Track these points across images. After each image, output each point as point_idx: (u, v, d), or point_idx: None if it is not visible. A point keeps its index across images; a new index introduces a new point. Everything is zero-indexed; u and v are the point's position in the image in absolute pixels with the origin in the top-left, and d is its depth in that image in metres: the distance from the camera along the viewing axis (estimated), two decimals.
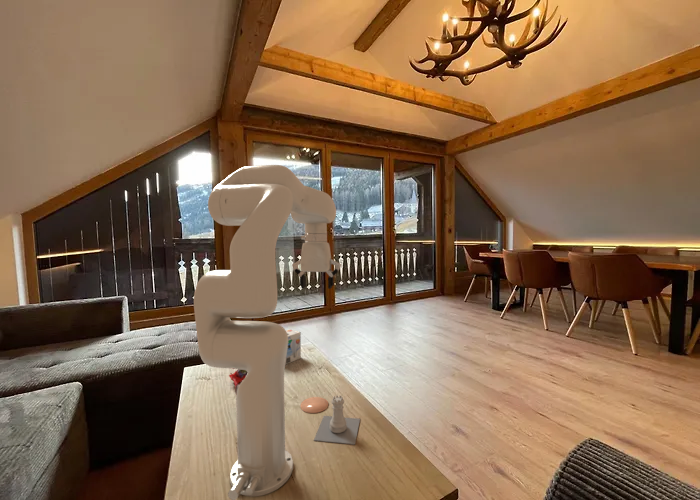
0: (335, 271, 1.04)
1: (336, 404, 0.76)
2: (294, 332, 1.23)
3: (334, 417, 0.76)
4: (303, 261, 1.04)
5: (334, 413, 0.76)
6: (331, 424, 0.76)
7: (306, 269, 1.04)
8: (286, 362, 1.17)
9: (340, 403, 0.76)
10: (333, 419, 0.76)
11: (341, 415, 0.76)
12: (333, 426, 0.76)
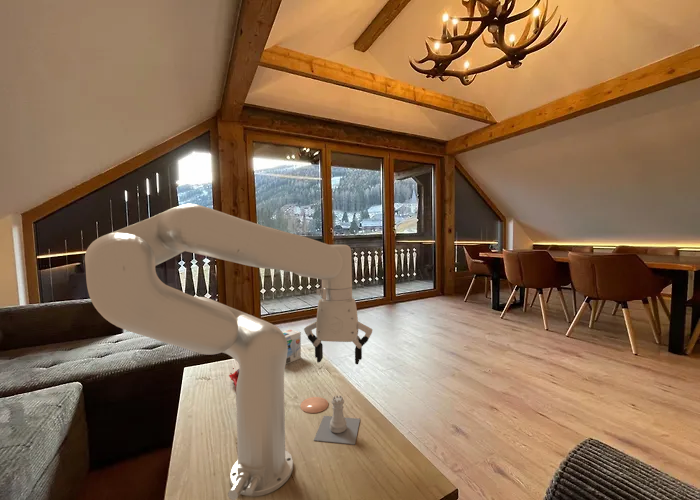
0: (365, 340, 0.75)
1: (336, 404, 0.76)
2: (294, 332, 1.23)
3: (334, 417, 0.76)
4: (320, 327, 0.74)
5: (334, 413, 0.76)
6: (331, 424, 0.76)
7: (324, 338, 0.74)
8: (286, 362, 1.17)
9: (340, 403, 0.76)
10: (333, 419, 0.76)
11: (341, 415, 0.76)
12: (333, 426, 0.76)
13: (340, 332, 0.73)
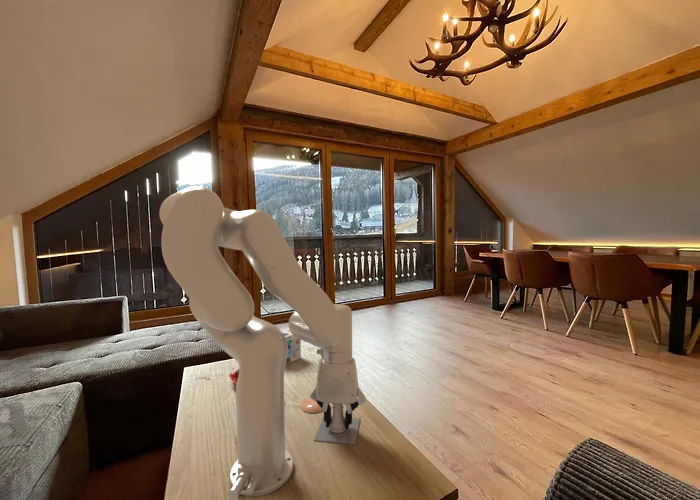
0: (355, 405, 0.76)
1: (336, 404, 0.76)
2: None
3: (334, 417, 0.76)
4: (320, 388, 0.75)
5: (334, 413, 0.76)
6: (331, 424, 0.76)
7: (324, 399, 0.75)
8: (286, 362, 1.17)
9: None
10: (333, 419, 0.76)
11: (341, 415, 0.76)
12: (333, 426, 0.76)
13: (340, 394, 0.74)
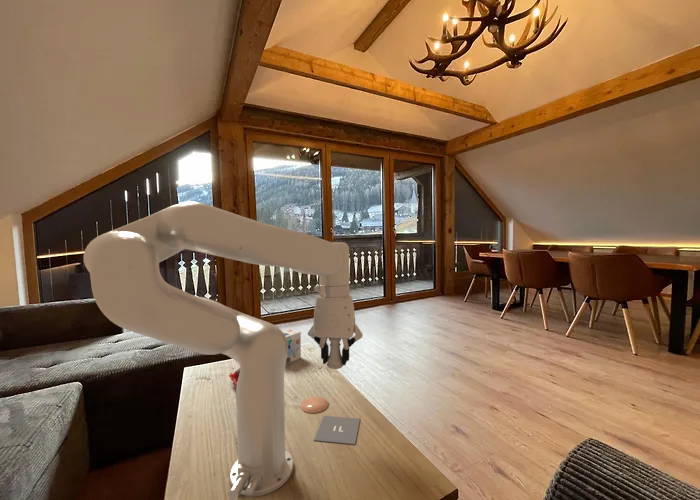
0: (352, 341, 0.76)
1: (333, 340, 0.76)
2: (294, 332, 1.23)
3: (331, 353, 0.76)
4: (317, 323, 0.75)
5: (331, 349, 0.77)
6: (328, 360, 0.76)
7: (321, 334, 0.75)
8: (286, 362, 1.17)
9: (337, 339, 0.76)
10: (330, 355, 0.77)
11: (338, 352, 0.77)
12: (330, 362, 0.76)
13: (337, 329, 0.74)
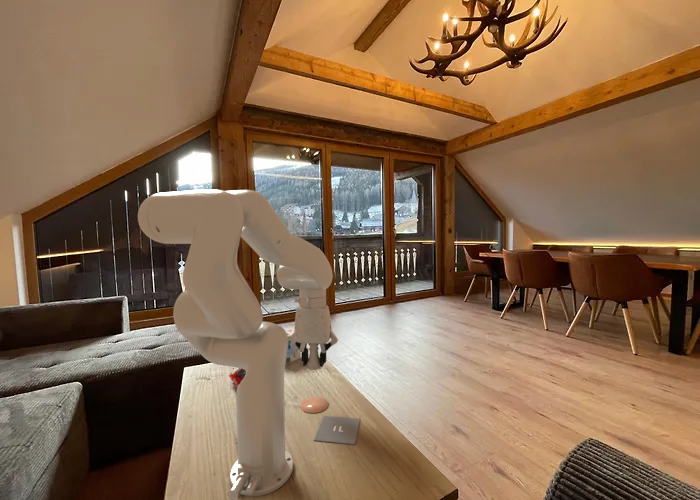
0: (328, 346, 0.86)
1: (312, 345, 0.87)
2: None
3: (310, 356, 0.87)
4: (297, 330, 0.86)
5: (310, 353, 0.87)
6: (308, 362, 0.87)
7: (301, 340, 0.86)
8: (286, 362, 1.17)
9: None
10: (309, 358, 0.87)
11: (316, 355, 0.87)
12: (309, 364, 0.87)
13: (314, 335, 0.85)
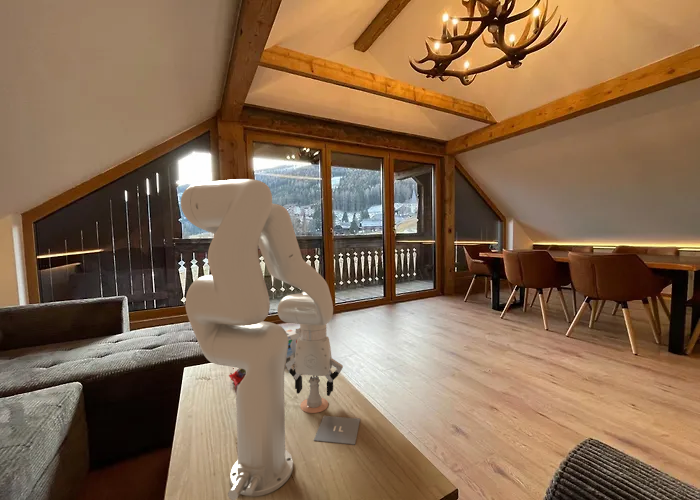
0: (335, 375, 0.86)
1: (312, 382, 0.87)
2: (294, 332, 1.23)
3: (311, 394, 0.87)
4: (298, 362, 0.86)
5: (311, 390, 0.87)
6: (308, 400, 0.87)
7: (301, 372, 0.86)
8: (286, 362, 1.17)
9: (316, 381, 0.87)
10: (310, 396, 0.87)
11: (317, 392, 0.87)
12: (309, 401, 0.87)
13: (315, 367, 0.85)
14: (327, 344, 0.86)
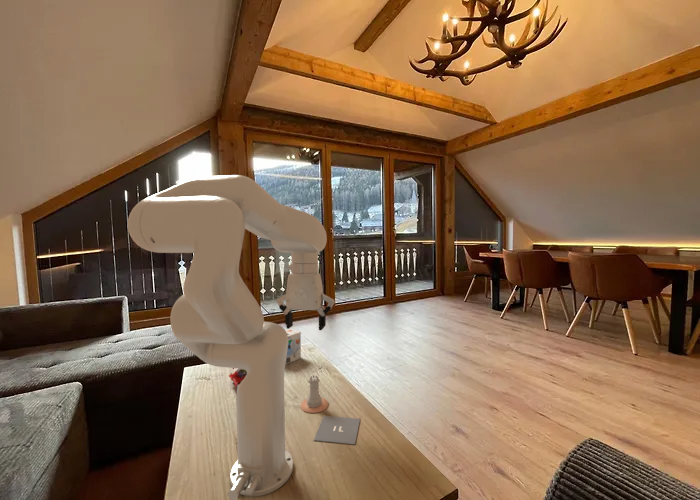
0: (327, 309, 0.86)
1: (312, 382, 0.87)
2: (294, 332, 1.23)
3: (310, 394, 0.87)
4: (289, 296, 0.86)
5: (310, 390, 0.87)
6: (308, 400, 0.87)
7: (292, 306, 0.86)
8: (286, 362, 1.17)
9: (316, 381, 0.87)
10: (310, 396, 0.88)
11: (317, 392, 0.87)
12: (309, 402, 0.87)
13: (305, 301, 0.85)
14: (318, 278, 0.85)
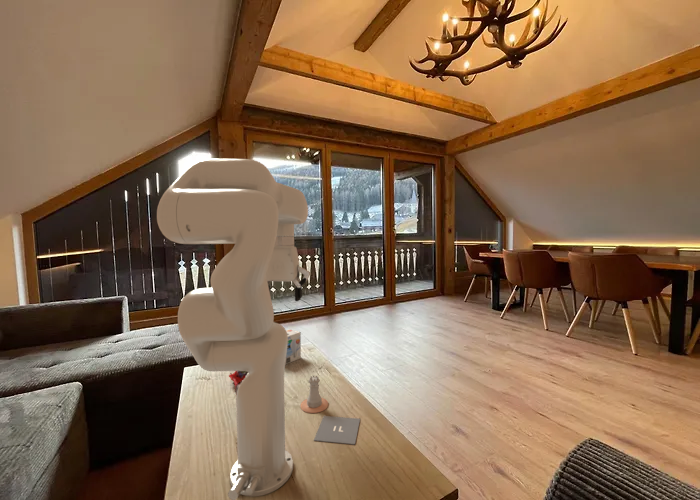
0: (303, 280, 0.89)
1: (312, 382, 0.87)
2: (294, 332, 1.23)
3: (310, 394, 0.87)
4: None
5: (310, 390, 0.87)
6: (308, 400, 0.87)
7: (269, 278, 0.88)
8: (286, 362, 1.17)
9: (316, 381, 0.87)
10: (310, 396, 0.88)
11: (317, 392, 0.87)
12: (309, 402, 0.87)
13: (282, 273, 0.87)
14: (294, 251, 0.88)
